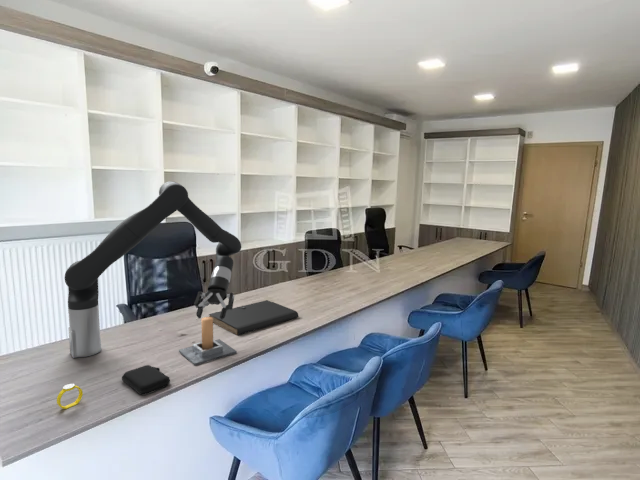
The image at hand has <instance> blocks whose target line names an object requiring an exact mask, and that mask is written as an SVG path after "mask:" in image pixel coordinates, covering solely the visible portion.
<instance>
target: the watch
mask: <svg viewBox="0 0 640 480" xmlns="http://www.w3.org/2000/svg"><path fill="white" fill-rule="evenodd" d="M74 389H77V390H78V396H77V398H76V400H75V401H74V402H71V403H68V404H67V405H62V404H61V399H62V398H63V395H64V394H65V393H66V392H69V391H70V392H71V391H72V390H74ZM83 394H84V393H83V389H82V388H81V387H80V386H78V385H76V384H75V383H68V384H65V385H63V386H62V389H61V390H60V391H59V393H58V395H57V397H56V404H57V405H58V407H59V408H61V409H62V410H63V409H64V410H67V409H70V408H72V407H74V406H76V405H77V406H78V404H79V403H80V401H81V400H82V398H83Z"/></svg>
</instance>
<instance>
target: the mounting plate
mask: <svg viewBox="0 0 640 480" xmlns="http://www.w3.org/2000/svg"><path fill="white" fill-rule="evenodd" d="M178 353H179V354H180V355H182V356H183V357H184V358H185V359H186V360H188V361H189V362H190V363H191V364H192V365H193V366H198V365H202V364H204V363H207V362H209V363H210V362H212V361H215V360H218V359H222V358H225V357H228V356H232V355H235V354H237V353H238V350H236V349H235V348H233V347H231V346H230V345H228V344H227V343H226V342H224V341H223V340H221V339H220V338H219V339H214V338H213V348H209V349H206V350H203V349H202V341H201V342H197V343H193V344H192V346H188V347H184V348H181V349H178Z"/></svg>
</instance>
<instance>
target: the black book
mask: <svg viewBox="0 0 640 480" xmlns="http://www.w3.org/2000/svg"><path fill="white" fill-rule="evenodd" d="M220 314H221V310H220V311H217V312H212V313H211V312H210V313H208V317H212V318H213V325H216V326H218V327H219V328H222V329H224V330H226V331H228V332H231V333H232V334H234V335H235V336H242V335H244V334H248V333H250V332H251V333H252V332H254V331H258V330H261V329H264V328H268V327H270V326H275V325H278V324H281V323H284V322H287V321H291V320H294V319H297V318H299V313H298V312H297V311H296V310H294V309H291V308H290V307H287V306H284V305H281V304H279V303H276V302H275V301H271V300H269V299H266V300H261V301H258V302H254V303H250V304H245V305H241V306H236V307H233V308H232V309H231V310H230V309H229V310H227V311H226V315H225V318H223V320H221V319H220Z"/></svg>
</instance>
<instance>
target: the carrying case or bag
mask: <svg viewBox="0 0 640 480" xmlns="http://www.w3.org/2000/svg"><path fill="white" fill-rule="evenodd" d="M121 380H122V381H123V382H124V383H126V384H127V385H128V386H129V387H130V388H132V389H133V390H135V391H136V392H137V393H138V394H139V395H142V396H144V395H149V394H150V393H153V392H156V391H158V390H161V389H163V388H165V387H168V385H169V384H170V383H171V378H170V376H168V375H166V374H165V373H163V372H162V371H161V370H160V367H155V366H151V365H149V364H146V365H145V364H144V365H142V366H140V367H136V368H134V369H131V370H128V371H126V372H124V373H123V374H122V376H121Z"/></svg>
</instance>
